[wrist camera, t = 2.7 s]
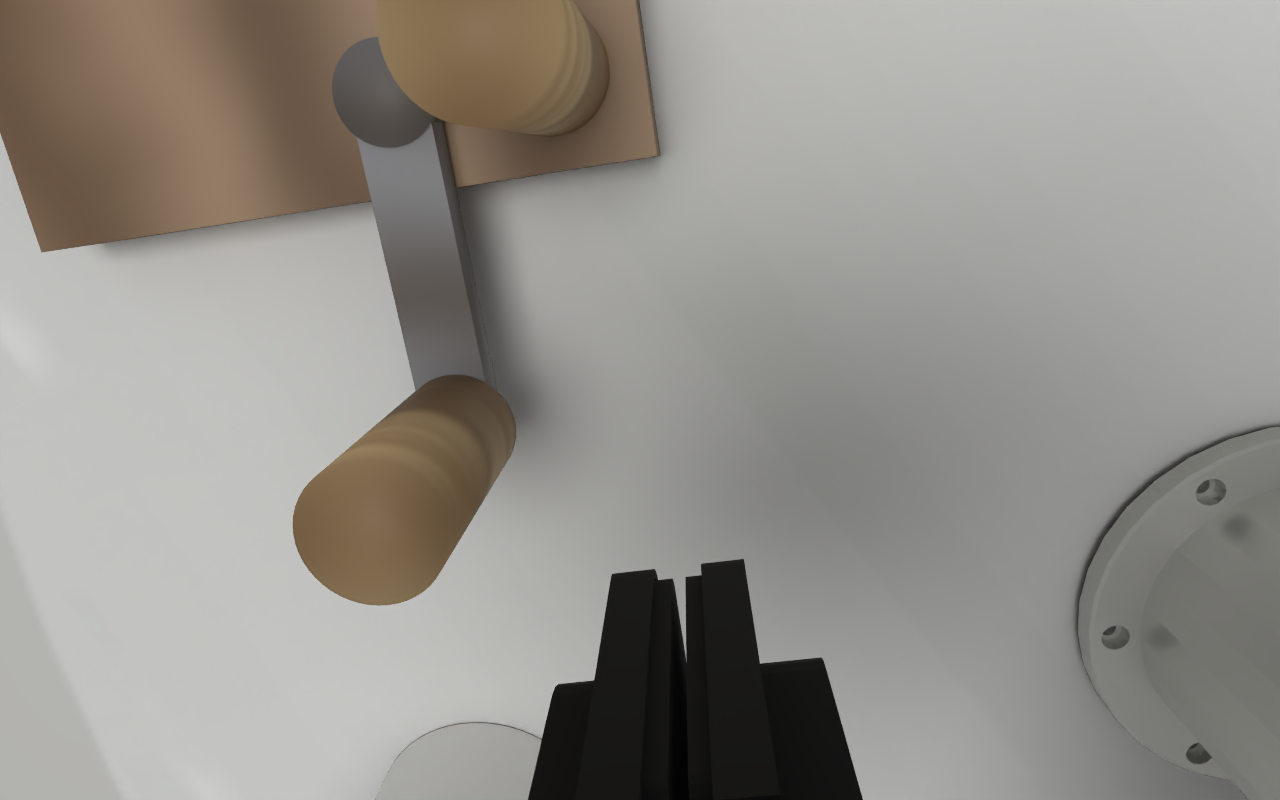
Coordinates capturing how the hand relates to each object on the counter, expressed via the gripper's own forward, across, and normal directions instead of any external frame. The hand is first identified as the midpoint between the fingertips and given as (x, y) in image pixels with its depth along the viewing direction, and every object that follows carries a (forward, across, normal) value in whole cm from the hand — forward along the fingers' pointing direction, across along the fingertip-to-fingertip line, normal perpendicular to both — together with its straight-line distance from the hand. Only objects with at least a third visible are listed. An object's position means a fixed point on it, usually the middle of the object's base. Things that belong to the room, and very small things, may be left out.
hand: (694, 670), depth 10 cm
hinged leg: (+14, +6, -4) cm, 16 cm away
